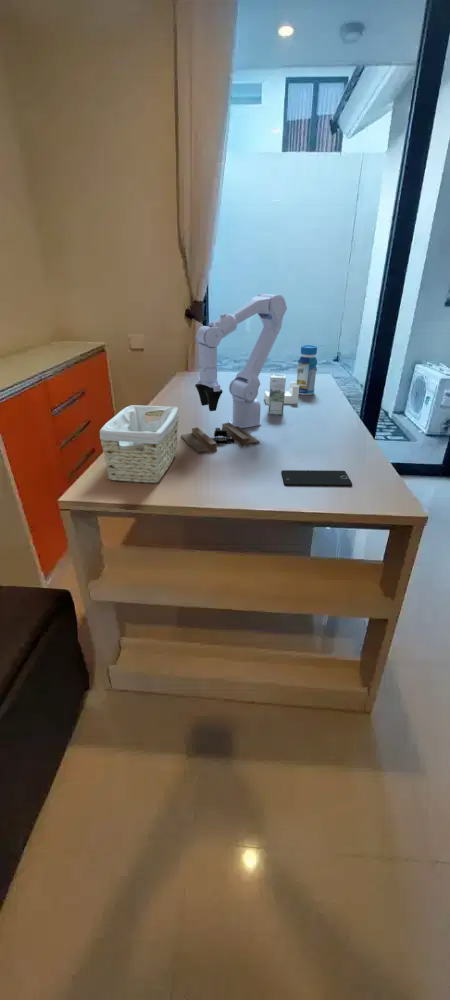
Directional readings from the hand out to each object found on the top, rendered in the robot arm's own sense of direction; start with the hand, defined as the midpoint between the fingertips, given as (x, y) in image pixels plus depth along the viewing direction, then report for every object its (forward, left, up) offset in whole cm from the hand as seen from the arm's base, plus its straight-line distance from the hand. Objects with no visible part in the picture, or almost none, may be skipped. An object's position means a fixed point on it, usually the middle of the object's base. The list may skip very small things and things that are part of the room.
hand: (208, 407), depth 147 cm
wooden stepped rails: (0, +9, -8) cm, 12 cm away
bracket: (-42, -22, -9) cm, 48 cm away
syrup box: (-32, -9, -9) cm, 34 cm away
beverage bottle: (-59, -29, -9) cm, 66 cm away
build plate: (0, +10, -9) cm, 13 cm away
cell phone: (-12, +46, -9) cm, 48 cm away
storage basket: (+28, +19, -9) cm, 35 cm away
